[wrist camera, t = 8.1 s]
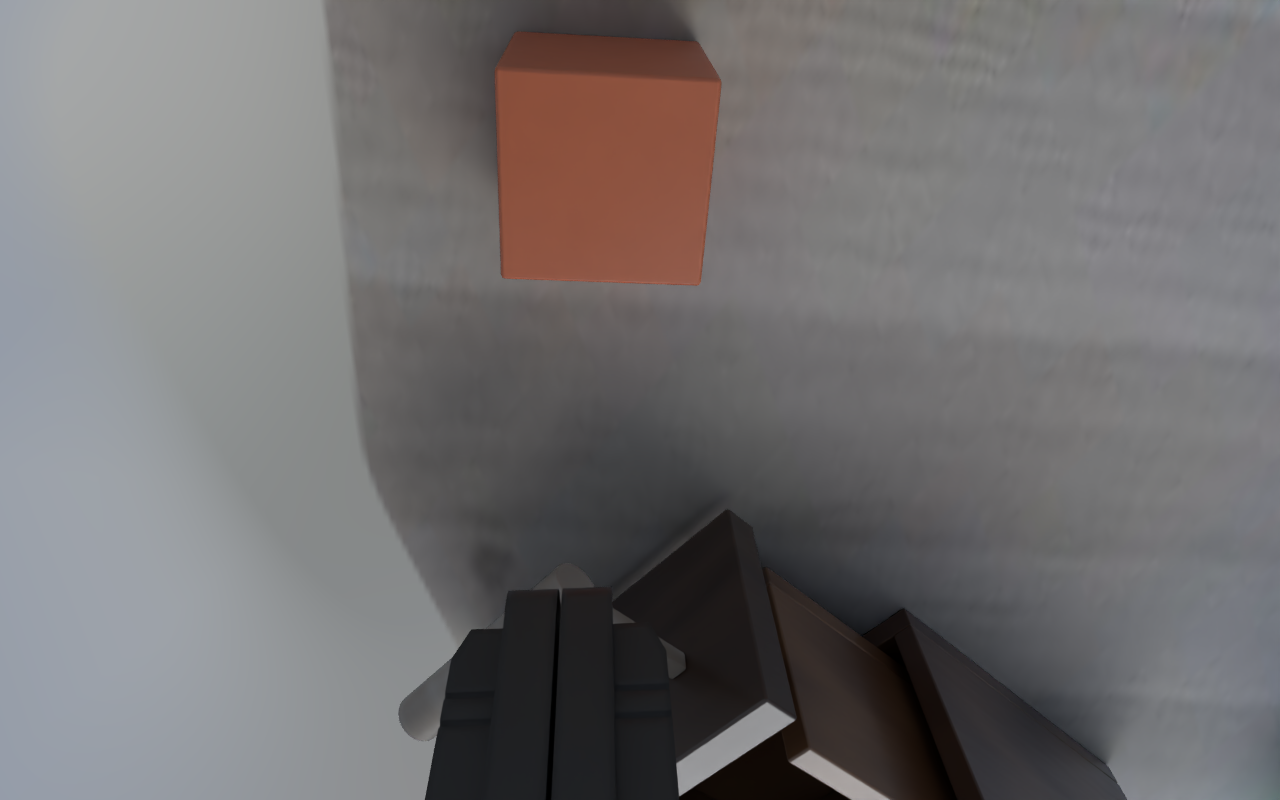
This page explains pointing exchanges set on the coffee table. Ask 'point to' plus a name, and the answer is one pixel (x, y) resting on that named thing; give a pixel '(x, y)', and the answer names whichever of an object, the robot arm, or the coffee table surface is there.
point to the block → (604, 158)
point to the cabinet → (989, 726)
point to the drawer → (759, 683)
